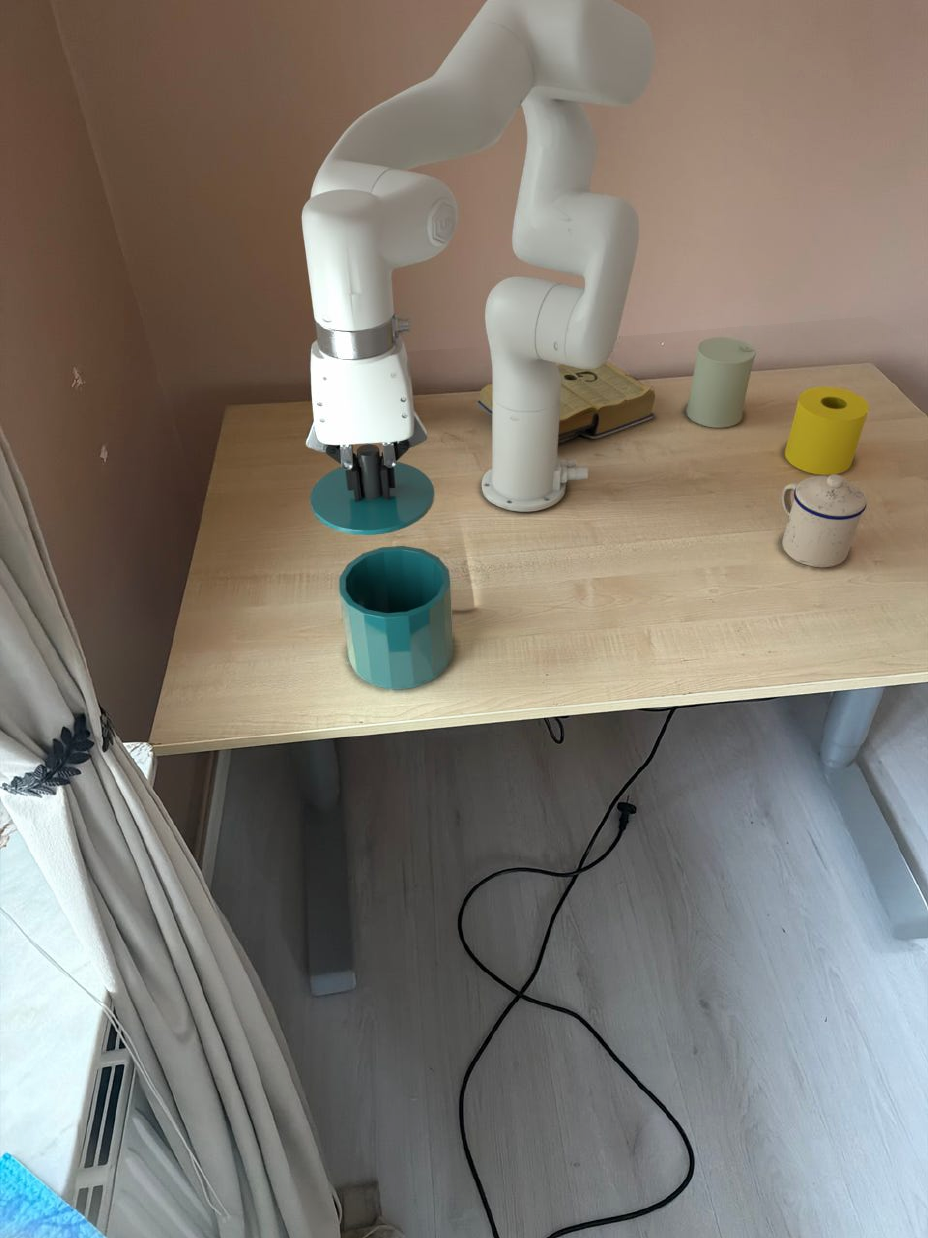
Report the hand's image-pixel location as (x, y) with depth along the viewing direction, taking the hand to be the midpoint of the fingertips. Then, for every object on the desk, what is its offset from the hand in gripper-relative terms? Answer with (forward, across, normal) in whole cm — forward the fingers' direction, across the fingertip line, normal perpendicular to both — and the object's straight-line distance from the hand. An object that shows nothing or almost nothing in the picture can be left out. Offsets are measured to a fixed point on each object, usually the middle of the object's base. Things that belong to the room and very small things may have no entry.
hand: (372, 492), depth 98 cm
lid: (+1, 0, 0) cm, 1 cm away
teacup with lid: (+21, -58, -12) cm, 63 cm away
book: (+21, -31, -50) cm, 62 cm away
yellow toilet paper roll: (+21, -68, -33) cm, 79 cm away
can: (+21, -56, -48) cm, 77 cm away
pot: (+21, -2, +4) cm, 22 cm away
